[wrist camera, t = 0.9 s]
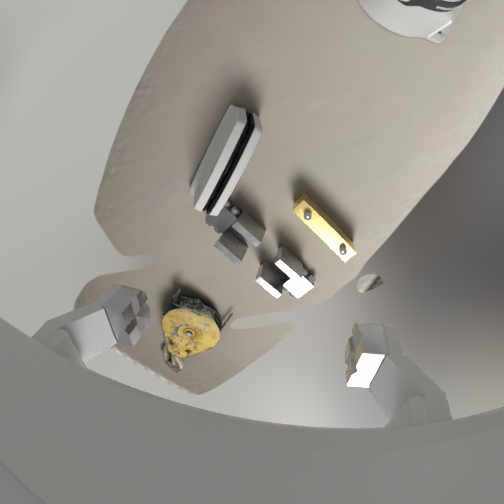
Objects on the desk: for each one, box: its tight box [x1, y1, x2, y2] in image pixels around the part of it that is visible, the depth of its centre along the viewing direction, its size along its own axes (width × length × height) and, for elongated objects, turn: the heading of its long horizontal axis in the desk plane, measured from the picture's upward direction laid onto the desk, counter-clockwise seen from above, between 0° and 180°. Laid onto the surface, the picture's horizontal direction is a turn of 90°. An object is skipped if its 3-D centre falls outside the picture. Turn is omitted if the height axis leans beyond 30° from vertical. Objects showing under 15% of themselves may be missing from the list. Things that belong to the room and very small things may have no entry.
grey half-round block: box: [189, 104, 262, 216], centre depth 38 cm, size 17×5×10 cm, turn 152°
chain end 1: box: [205, 200, 266, 265], centre depth 45 cm, size 6×9×5 cm, turn 49°
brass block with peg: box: [292, 193, 356, 261], centre depth 42 cm, size 2×12×5 cm, turn 49°
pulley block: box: [161, 288, 233, 372], centre depth 61 cm, size 14×6×30 cm
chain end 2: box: [255, 245, 316, 298], centre depth 47 cm, size 6×9×5 cm, turn 49°
